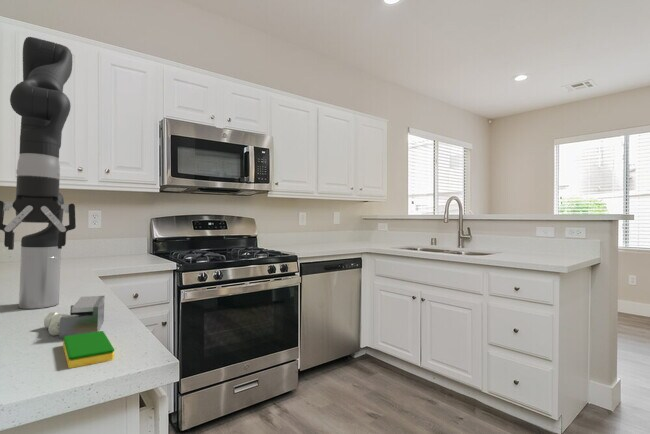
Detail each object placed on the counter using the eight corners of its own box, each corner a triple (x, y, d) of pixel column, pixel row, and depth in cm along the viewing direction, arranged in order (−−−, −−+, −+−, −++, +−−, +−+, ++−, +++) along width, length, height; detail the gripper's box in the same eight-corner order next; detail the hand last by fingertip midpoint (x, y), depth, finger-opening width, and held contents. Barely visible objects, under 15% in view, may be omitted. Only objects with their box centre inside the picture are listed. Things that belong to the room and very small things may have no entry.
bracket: (70, 323, 90) (71, 297, 90) (103, 320, 93) (104, 295, 93) (59, 338, 79) (60, 308, 79) (97, 335, 82) (98, 306, 82)
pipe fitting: (59, 340, 80) (85, 328, 87) (58, 322, 80) (84, 312, 86) (30, 336, 82) (57, 325, 88) (29, 319, 82) (57, 310, 88)
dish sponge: (102, 341, 80) (103, 330, 80) (114, 362, 69) (114, 349, 69) (62, 347, 75) (63, 336, 75) (68, 370, 65) (69, 357, 65)
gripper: (77, 181, 88) (74, 247, 88) (-1, 175, 80) (-4, 248, 80) (77, 177, 82) (74, 249, 82) (-7, 171, 74) (-11, 250, 74)
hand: (36, 249), depth 81 cm, fingers open, 8 cm apart
